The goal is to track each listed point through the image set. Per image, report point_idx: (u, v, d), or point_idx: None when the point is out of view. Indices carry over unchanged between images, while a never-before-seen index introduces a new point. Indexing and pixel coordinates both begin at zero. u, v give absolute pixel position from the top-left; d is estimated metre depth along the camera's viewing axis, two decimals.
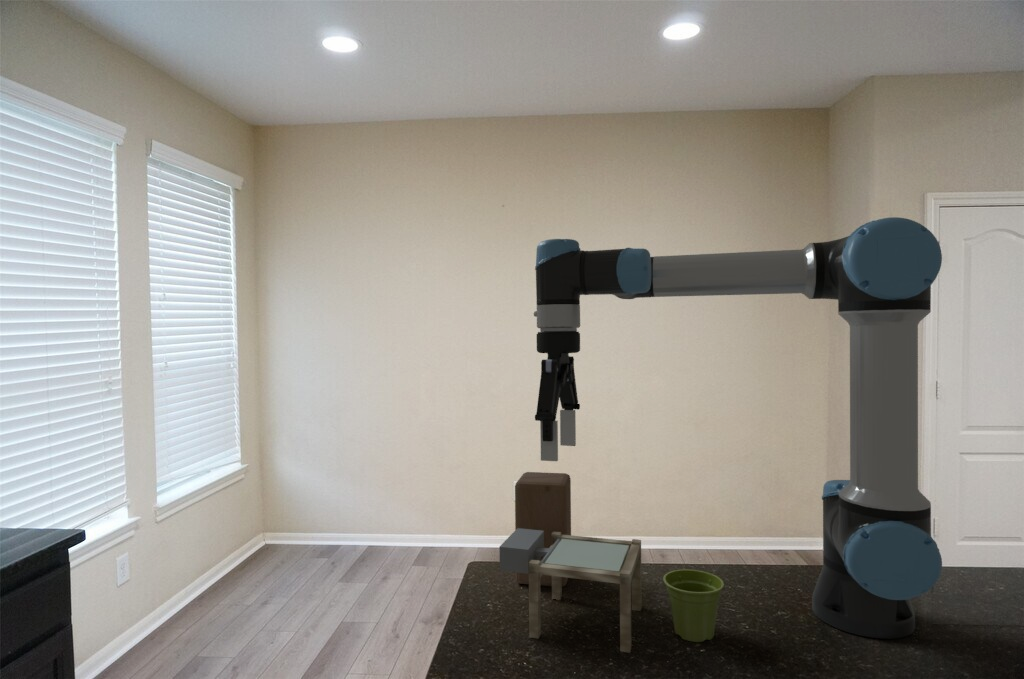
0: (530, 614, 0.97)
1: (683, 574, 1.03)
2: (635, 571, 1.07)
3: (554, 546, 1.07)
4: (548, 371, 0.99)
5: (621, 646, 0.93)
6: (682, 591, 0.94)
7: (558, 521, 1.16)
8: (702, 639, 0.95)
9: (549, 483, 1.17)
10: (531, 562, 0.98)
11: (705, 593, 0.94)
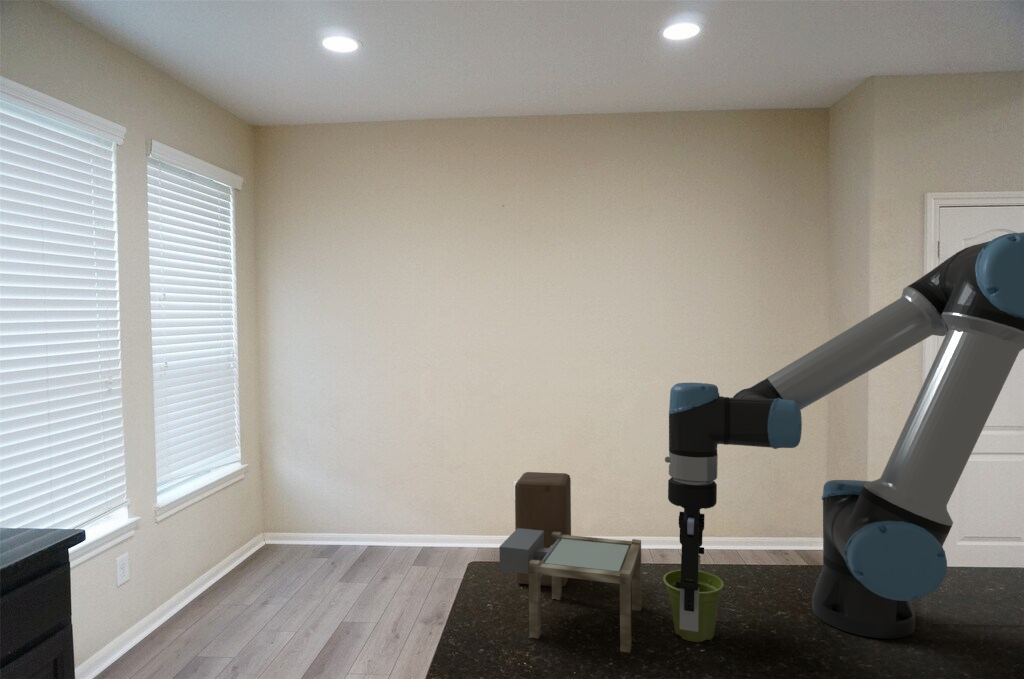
0: (530, 614, 0.97)
1: None
2: (635, 571, 1.07)
3: (554, 546, 1.07)
4: (690, 533, 0.92)
5: (621, 646, 0.93)
6: None
7: (558, 521, 1.16)
8: (702, 639, 0.95)
9: (549, 483, 1.17)
10: (531, 562, 0.98)
11: (705, 593, 0.94)
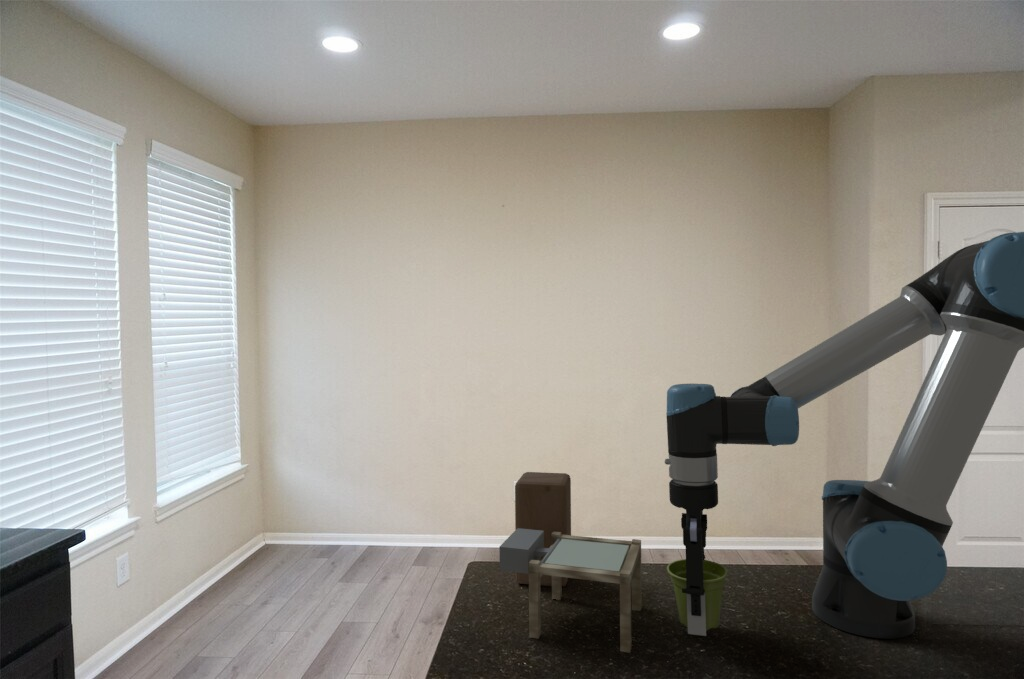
0: (530, 614, 0.97)
1: None
2: (635, 571, 1.07)
3: (554, 546, 1.07)
4: (693, 540, 0.92)
5: (621, 646, 0.93)
6: None
7: (558, 521, 1.16)
8: (707, 627, 0.95)
9: (549, 483, 1.17)
10: (531, 562, 0.98)
11: (709, 581, 0.93)
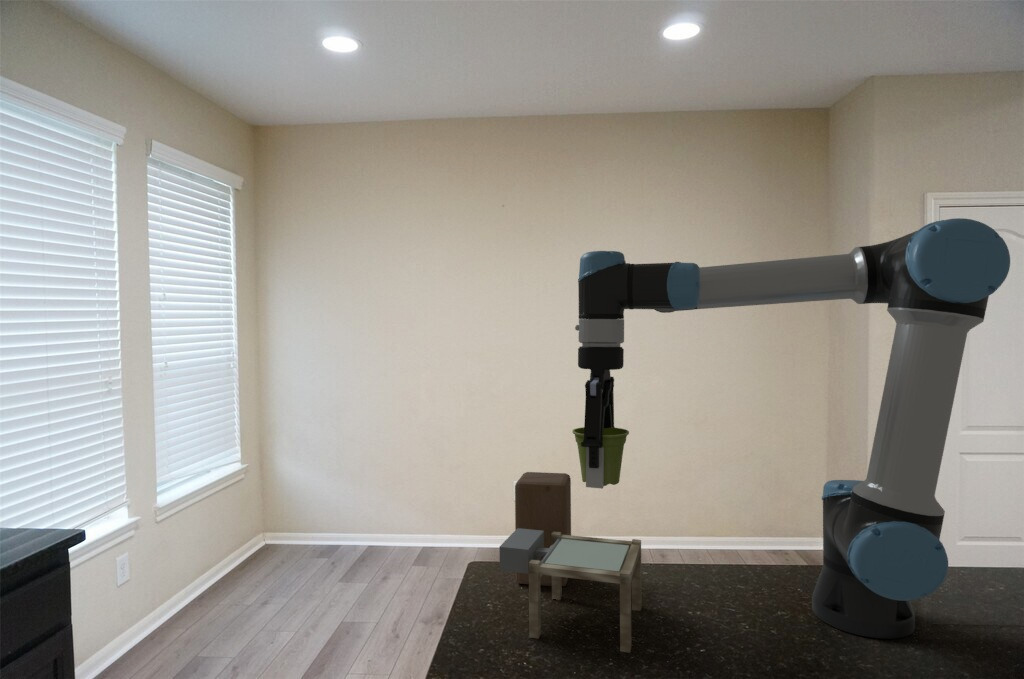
0: (530, 614, 0.97)
1: None
2: (635, 571, 1.07)
3: (554, 546, 1.07)
4: (593, 395, 0.95)
5: (621, 646, 0.93)
6: None
7: (558, 521, 1.16)
8: (606, 483, 0.99)
9: (549, 483, 1.17)
10: (531, 562, 0.98)
11: (608, 436, 0.97)
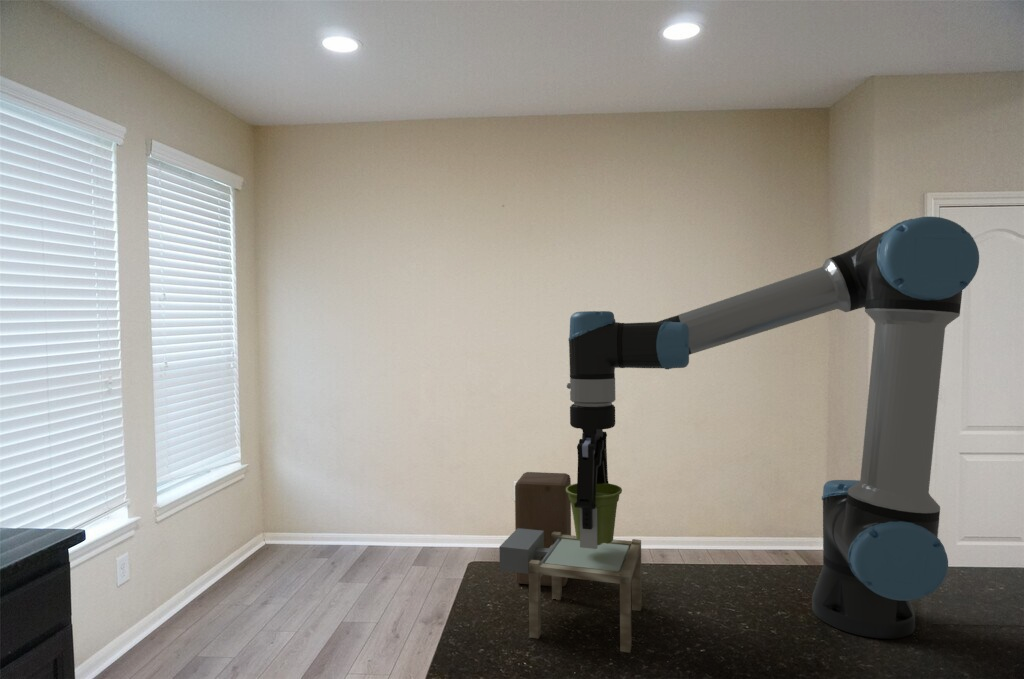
0: (530, 614, 0.97)
1: None
2: (635, 571, 1.07)
3: (554, 546, 1.07)
4: (585, 456, 0.96)
5: (621, 646, 0.93)
6: None
7: (558, 521, 1.16)
8: (599, 542, 0.99)
9: (549, 483, 1.17)
10: (531, 562, 0.98)
11: (600, 496, 0.97)
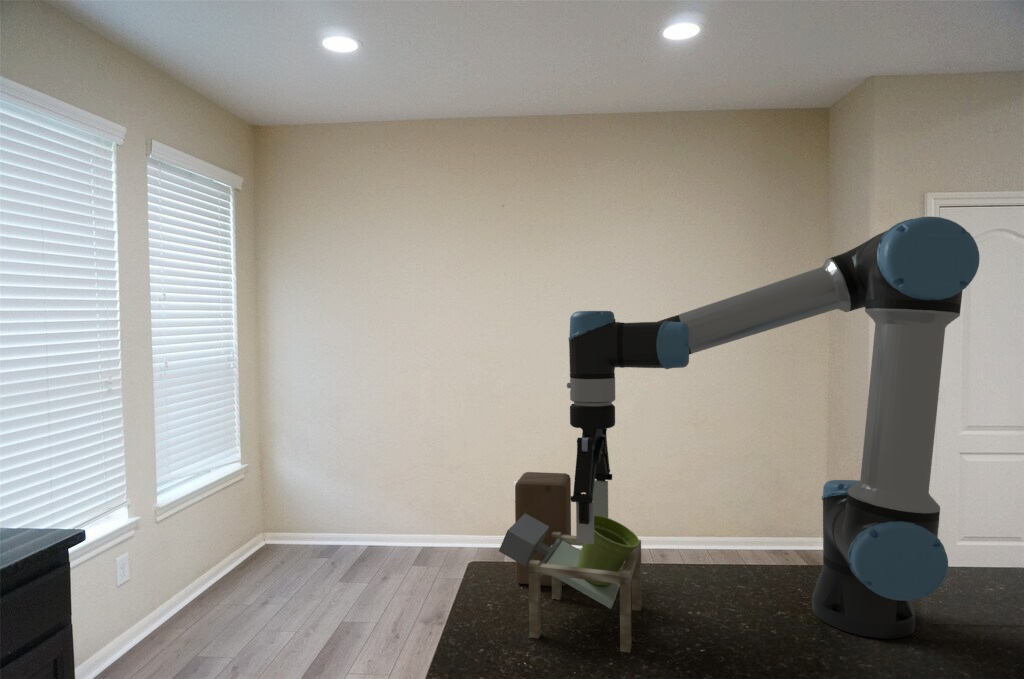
0: (530, 614, 0.97)
1: (606, 521, 1.05)
2: (635, 571, 1.07)
3: (555, 547, 1.07)
4: (584, 450, 0.96)
5: (621, 646, 0.93)
6: (599, 534, 0.96)
7: (558, 521, 1.16)
8: (598, 583, 0.98)
9: (549, 483, 1.17)
10: (531, 562, 0.98)
11: (619, 544, 0.96)
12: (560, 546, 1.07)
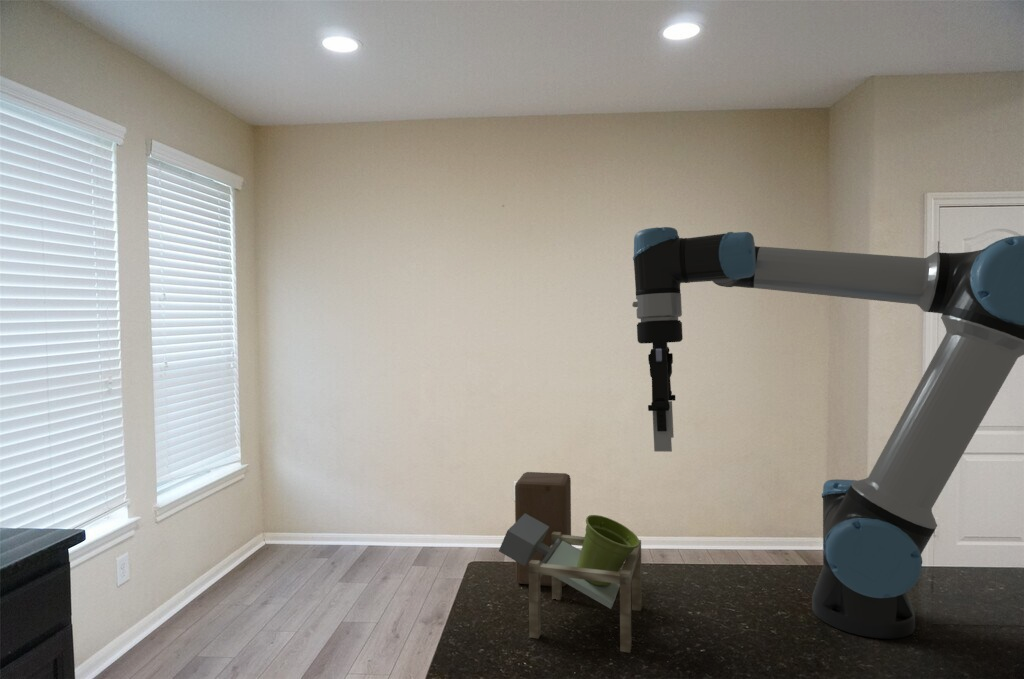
0: (530, 614, 0.97)
1: (606, 521, 1.05)
2: (635, 571, 1.07)
3: (555, 547, 1.07)
4: (658, 360, 0.98)
5: (621, 646, 0.93)
6: (599, 534, 0.96)
7: (558, 521, 1.16)
8: (598, 583, 0.98)
9: (549, 483, 1.17)
10: (531, 562, 0.98)
11: (619, 544, 0.96)
12: (560, 546, 1.07)
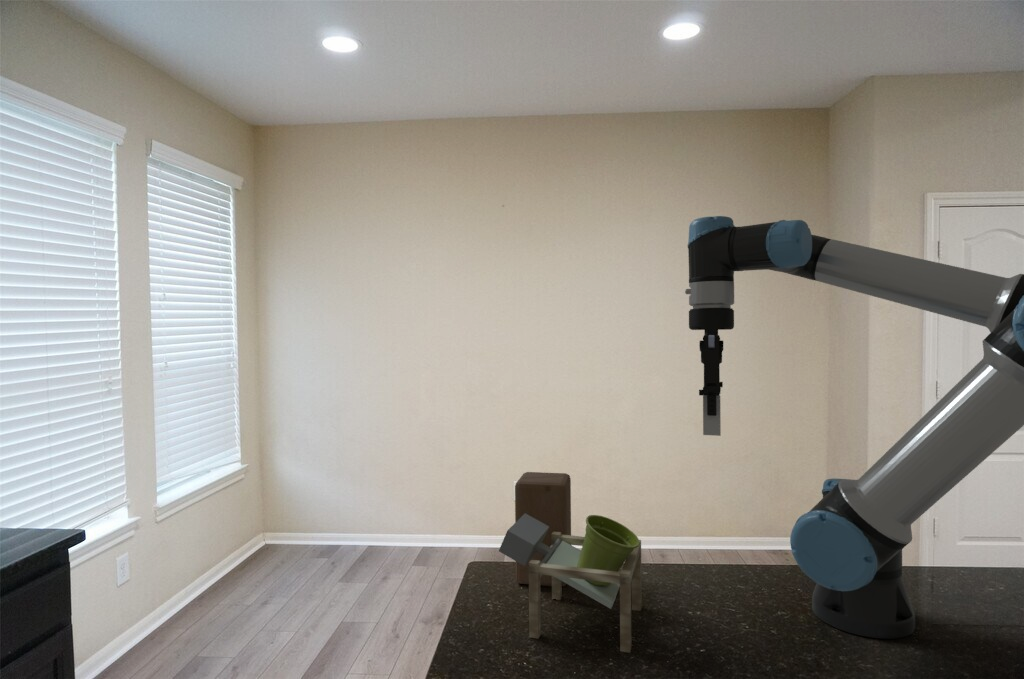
0: (530, 614, 0.97)
1: (606, 521, 1.05)
2: (635, 571, 1.07)
3: (555, 547, 1.07)
4: (711, 346, 1.00)
5: (621, 646, 0.93)
6: (599, 534, 0.96)
7: (558, 521, 1.16)
8: (598, 583, 0.98)
9: (549, 483, 1.17)
10: (531, 562, 0.98)
11: (619, 544, 0.96)
12: (560, 546, 1.07)
